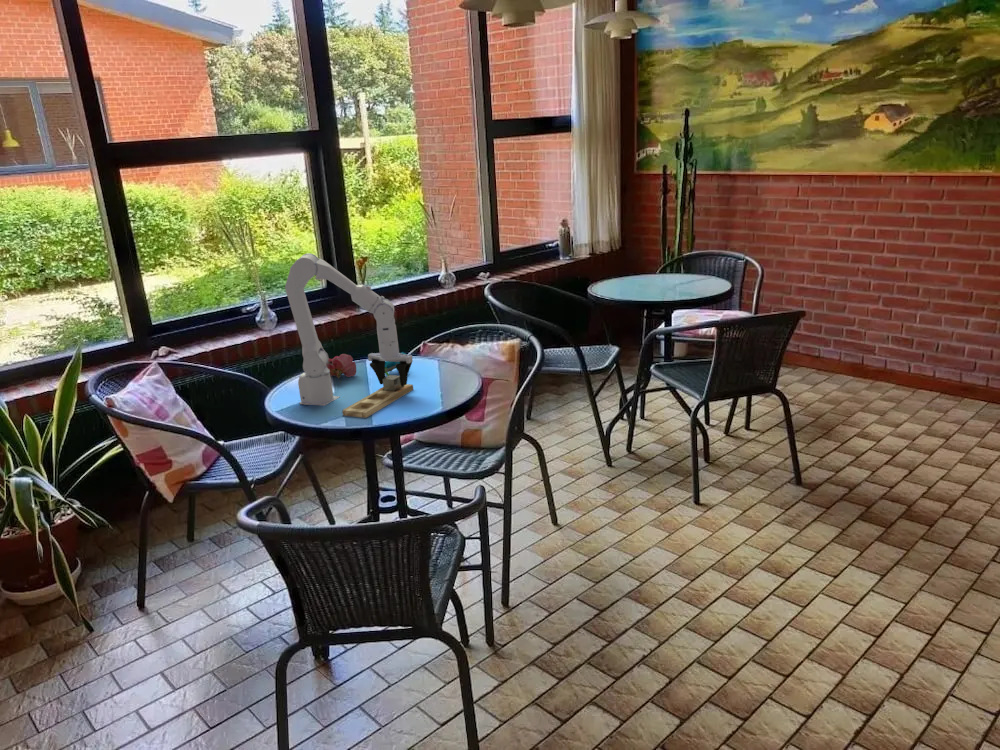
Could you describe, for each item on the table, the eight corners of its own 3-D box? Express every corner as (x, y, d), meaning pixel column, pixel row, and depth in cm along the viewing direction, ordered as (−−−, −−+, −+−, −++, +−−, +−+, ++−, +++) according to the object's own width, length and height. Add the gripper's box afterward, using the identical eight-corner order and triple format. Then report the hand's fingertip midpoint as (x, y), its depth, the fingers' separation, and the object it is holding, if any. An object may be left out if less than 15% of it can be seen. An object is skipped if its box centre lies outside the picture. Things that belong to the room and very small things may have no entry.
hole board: (343, 416, 210) (342, 409, 209) (391, 388, 231) (390, 382, 231) (366, 419, 206) (365, 412, 206) (413, 390, 228) (412, 384, 227)
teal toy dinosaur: (400, 362, 253) (407, 346, 245) (410, 376, 252) (418, 360, 244) (373, 375, 247) (380, 359, 239) (383, 388, 245) (390, 373, 238)
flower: (328, 385, 251) (336, 357, 253) (353, 389, 247) (361, 361, 250) (309, 375, 241) (318, 346, 243) (335, 379, 237) (344, 350, 239)
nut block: (384, 394, 224) (382, 379, 223) (391, 390, 228) (389, 375, 226) (395, 395, 223) (393, 379, 221) (402, 391, 226) (400, 375, 225)
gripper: (360, 343, 220) (365, 386, 224) (401, 345, 214) (406, 390, 218) (373, 337, 226) (379, 379, 230) (414, 339, 220) (419, 382, 224)
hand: (393, 384), depth 225 cm, fingers open, 7 cm apart
